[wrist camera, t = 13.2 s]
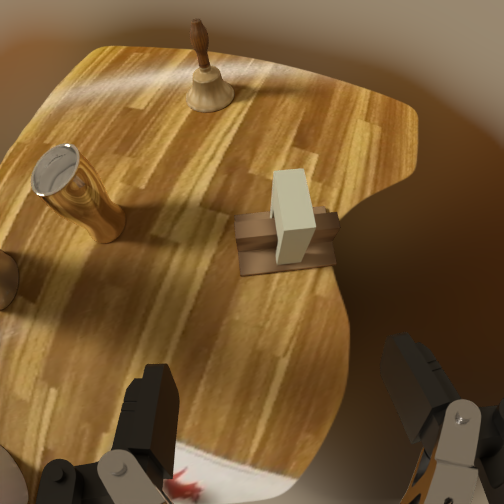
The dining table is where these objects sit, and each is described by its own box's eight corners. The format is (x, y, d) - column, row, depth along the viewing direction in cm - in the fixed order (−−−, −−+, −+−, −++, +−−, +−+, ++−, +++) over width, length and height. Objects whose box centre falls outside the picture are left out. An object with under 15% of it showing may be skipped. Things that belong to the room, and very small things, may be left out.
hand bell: (208, 120, 48) (194, 40, 32) (176, 99, 49) (156, 26, 34) (244, 93, 49) (240, 16, 34) (211, 75, 51) (200, 3, 36)
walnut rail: (240, 276, 39) (238, 264, 35) (234, 217, 42) (231, 199, 37) (335, 265, 40) (345, 252, 35) (324, 208, 42) (331, 189, 37)
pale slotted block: (300, 262, 39) (316, 227, 29) (276, 265, 39) (284, 230, 29) (292, 215, 41) (303, 168, 31) (269, 217, 41) (273, 171, 31)
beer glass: (98, 198, 43) (48, 140, 29) (136, 206, 43) (91, 143, 29) (79, 240, 41) (19, 192, 27) (118, 252, 41) (61, 202, 26)
